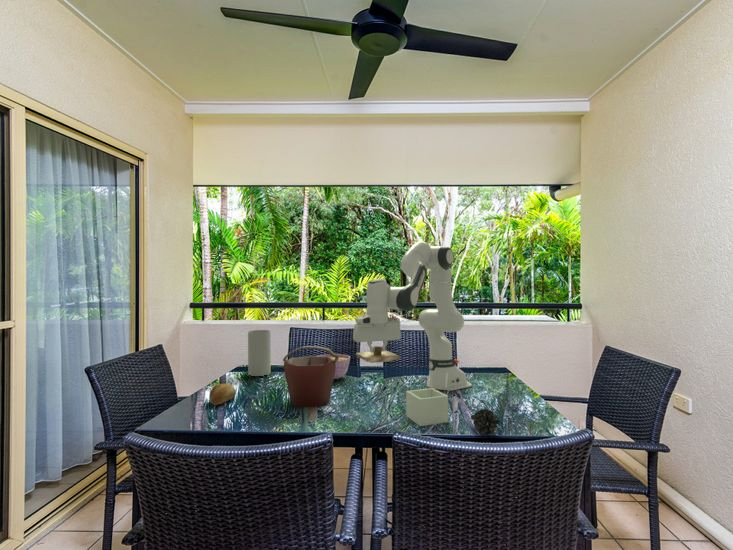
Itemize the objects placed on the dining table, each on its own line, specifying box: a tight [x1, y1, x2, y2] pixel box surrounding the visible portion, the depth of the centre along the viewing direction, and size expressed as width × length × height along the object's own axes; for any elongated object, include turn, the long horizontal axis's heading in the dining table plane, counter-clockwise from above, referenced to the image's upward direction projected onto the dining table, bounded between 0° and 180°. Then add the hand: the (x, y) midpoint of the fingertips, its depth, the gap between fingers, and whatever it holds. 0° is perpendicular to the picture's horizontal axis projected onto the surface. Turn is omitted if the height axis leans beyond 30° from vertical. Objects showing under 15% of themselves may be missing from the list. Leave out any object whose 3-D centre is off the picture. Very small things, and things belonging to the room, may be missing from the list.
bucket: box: [282, 345, 339, 409], centre depth 183 cm, size 24×22×25 cm
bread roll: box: [209, 383, 237, 406], centre depth 186 cm, size 10×15×8 cm, turn 172°
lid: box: [355, 345, 401, 364], centre depth 169 cm, size 14×14×5 cm
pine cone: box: [470, 408, 501, 435], centre depth 149 cm, size 9×8×15 cm
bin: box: [405, 387, 449, 427], centre depth 161 cm, size 12×12×10 cm
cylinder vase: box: [247, 329, 272, 377], centre depth 237 cm, size 12×12×25 cm
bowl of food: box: [318, 353, 351, 380], centre depth 227 cm, size 20×20×12 cm
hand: (377, 351), depth 169 cm, fingers closed on lid, 3 cm apart
